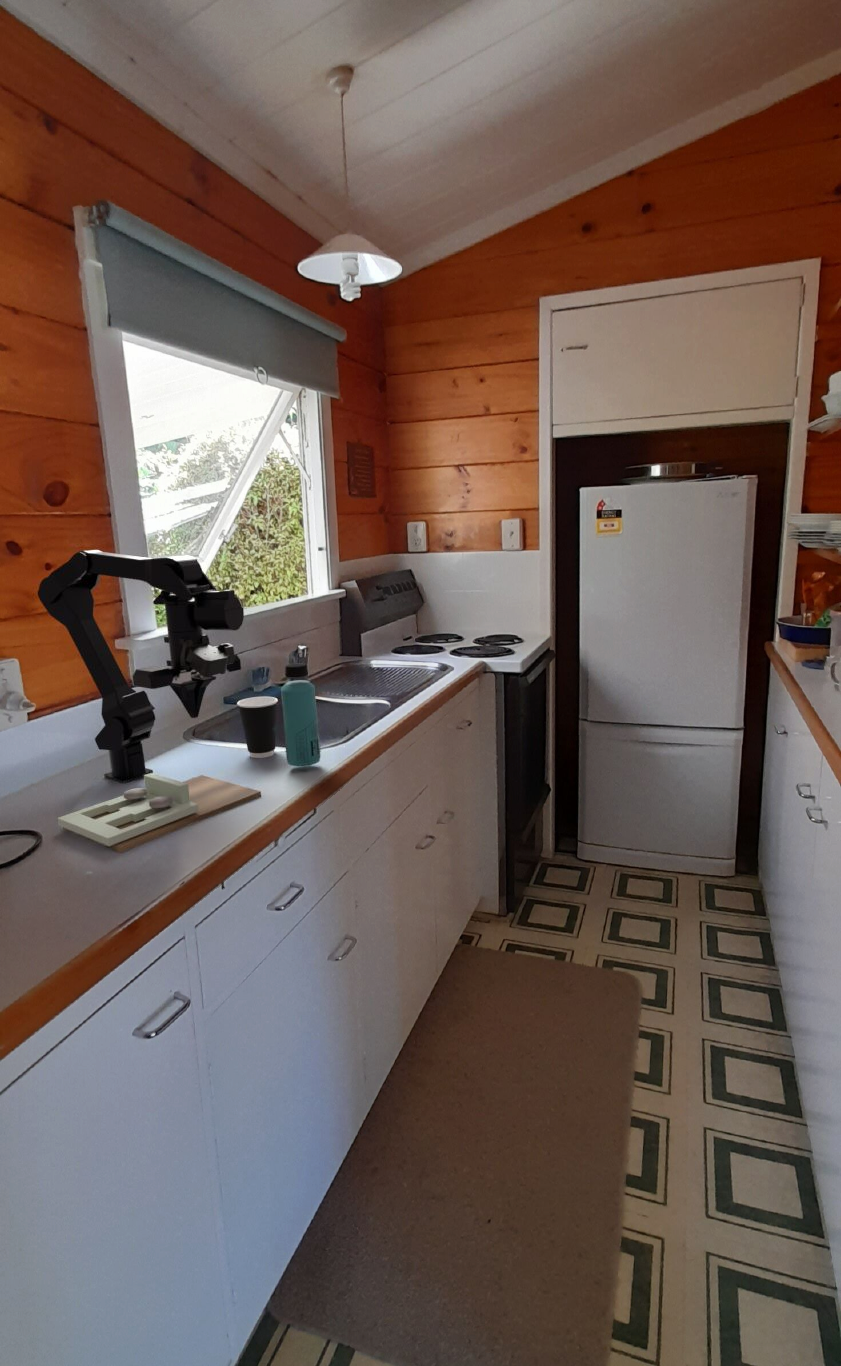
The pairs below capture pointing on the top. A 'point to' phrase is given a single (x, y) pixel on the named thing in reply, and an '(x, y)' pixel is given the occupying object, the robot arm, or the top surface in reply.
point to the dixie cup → (259, 725)
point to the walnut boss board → (202, 791)
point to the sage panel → (132, 812)
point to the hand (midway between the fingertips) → (194, 717)
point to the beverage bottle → (300, 718)
